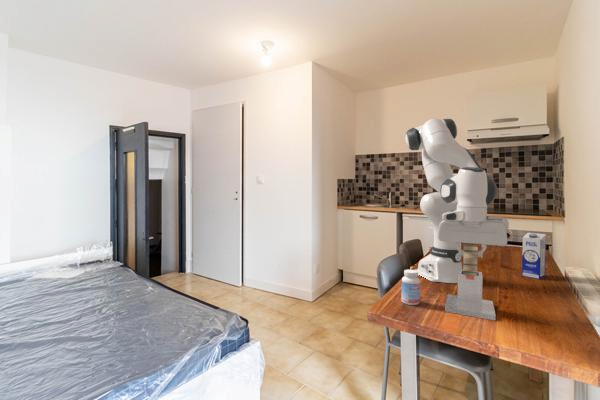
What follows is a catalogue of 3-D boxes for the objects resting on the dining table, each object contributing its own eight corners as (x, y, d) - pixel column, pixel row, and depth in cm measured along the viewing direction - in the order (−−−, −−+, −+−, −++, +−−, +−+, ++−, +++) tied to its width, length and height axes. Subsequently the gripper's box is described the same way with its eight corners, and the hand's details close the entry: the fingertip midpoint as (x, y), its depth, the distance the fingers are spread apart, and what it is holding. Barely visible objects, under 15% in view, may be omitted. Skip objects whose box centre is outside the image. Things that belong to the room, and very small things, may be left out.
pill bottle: (411, 306, 103) (411, 274, 102) (397, 301, 108) (398, 270, 108) (423, 303, 105) (423, 272, 105) (409, 298, 111) (410, 268, 111)
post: (462, 296, 100) (463, 246, 100) (462, 292, 104) (463, 244, 104) (476, 298, 98) (477, 247, 98) (476, 294, 102) (477, 245, 102)
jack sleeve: (444, 311, 99) (445, 275, 98) (447, 298, 111) (448, 266, 111) (495, 320, 92) (496, 281, 92) (492, 305, 104) (493, 271, 104)
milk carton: (545, 277, 138) (546, 233, 137) (539, 279, 134) (541, 235, 134) (527, 273, 144) (528, 232, 143) (521, 275, 140) (522, 233, 139)
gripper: (507, 216, 98) (506, 258, 99) (439, 213, 108) (438, 251, 109) (510, 217, 93) (508, 262, 93) (437, 214, 103) (436, 254, 103)
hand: (470, 256), depth 101 cm, fingers closed on post, 4 cm apart
